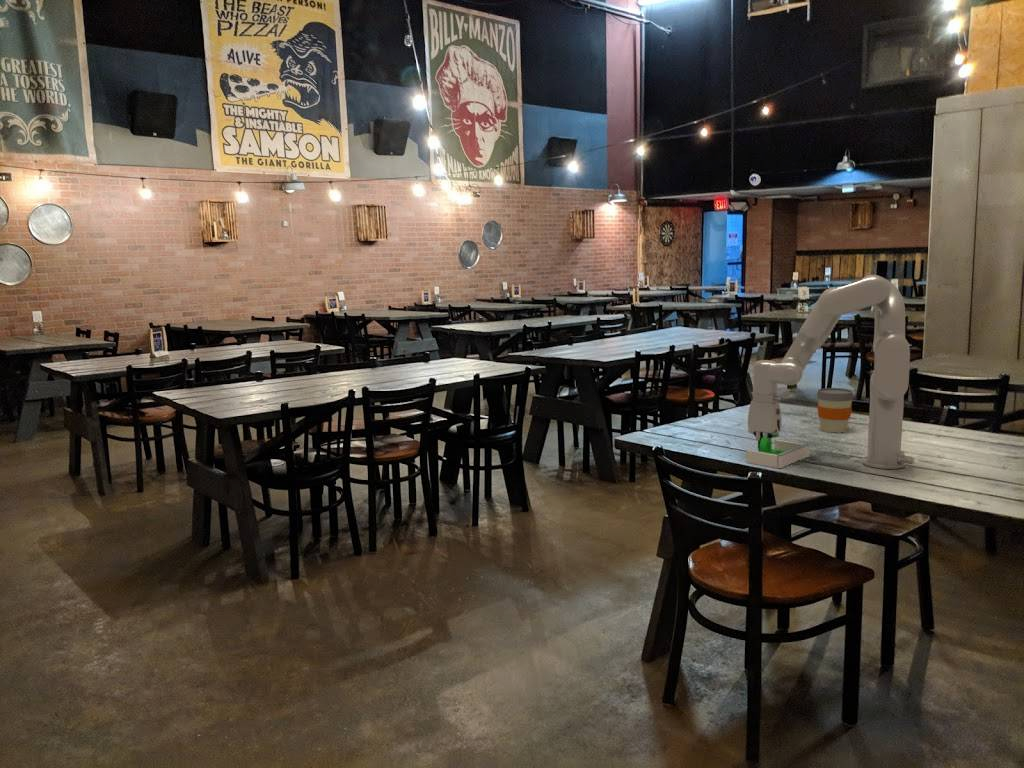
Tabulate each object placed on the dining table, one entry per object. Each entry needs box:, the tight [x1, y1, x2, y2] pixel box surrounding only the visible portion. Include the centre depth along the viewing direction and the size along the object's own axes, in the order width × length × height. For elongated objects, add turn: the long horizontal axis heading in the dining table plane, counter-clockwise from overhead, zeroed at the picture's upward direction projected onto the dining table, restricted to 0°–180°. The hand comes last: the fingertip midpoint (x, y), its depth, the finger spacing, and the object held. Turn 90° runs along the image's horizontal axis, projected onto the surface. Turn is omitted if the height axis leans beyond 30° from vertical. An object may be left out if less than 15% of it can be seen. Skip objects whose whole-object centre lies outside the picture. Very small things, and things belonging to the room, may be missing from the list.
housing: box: [746, 439, 811, 469], centre depth 257 cm, size 12×19×4 cm, turn 134°
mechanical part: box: [758, 437, 785, 455], centre depth 257 cm, size 12×6×8 cm, turn 142°
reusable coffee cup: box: [816, 387, 854, 433], centre depth 294 cm, size 13×13×15 cm
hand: (763, 452), depth 261 cm, fingers closed
